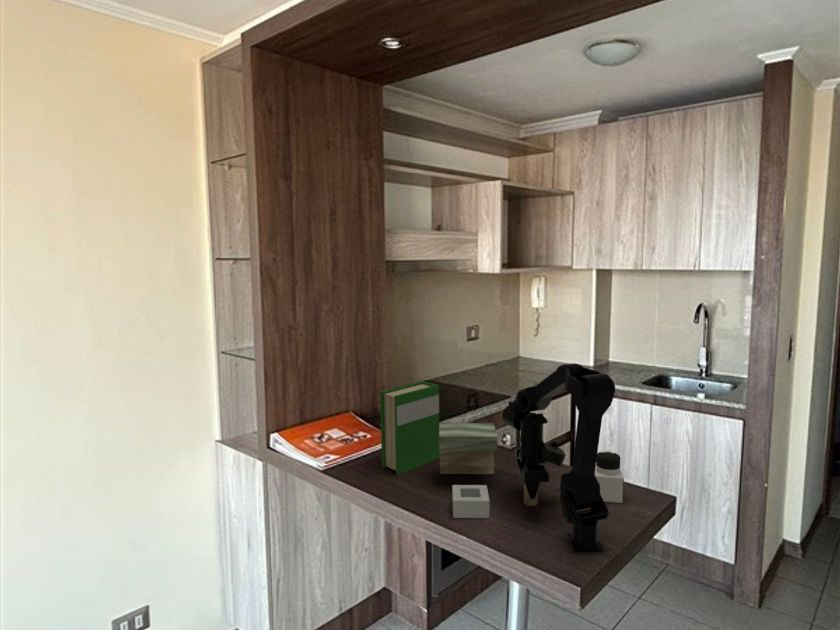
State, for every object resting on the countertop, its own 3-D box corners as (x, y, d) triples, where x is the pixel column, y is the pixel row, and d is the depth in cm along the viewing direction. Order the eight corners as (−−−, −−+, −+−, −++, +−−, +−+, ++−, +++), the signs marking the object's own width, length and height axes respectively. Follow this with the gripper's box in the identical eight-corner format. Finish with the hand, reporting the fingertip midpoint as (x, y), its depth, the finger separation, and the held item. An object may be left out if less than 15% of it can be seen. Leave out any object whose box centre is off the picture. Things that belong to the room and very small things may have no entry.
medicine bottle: (623, 503, 144) (624, 459, 142) (594, 501, 145) (595, 457, 144) (618, 491, 151) (620, 449, 149) (591, 489, 152) (593, 448, 151)
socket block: (489, 518, 137) (489, 501, 136) (453, 517, 137) (453, 500, 137) (486, 501, 146) (486, 485, 145) (452, 501, 146) (452, 484, 146)
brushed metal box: (497, 489, 153) (497, 437, 151) (439, 488, 154) (439, 436, 152) (493, 471, 165) (493, 423, 163) (439, 471, 166) (439, 422, 164)
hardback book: (398, 475, 163) (396, 396, 160) (381, 467, 169) (380, 391, 166) (439, 458, 176) (438, 385, 172) (423, 452, 181) (422, 381, 178)
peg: (538, 505, 143) (538, 472, 142) (524, 505, 143) (525, 472, 142) (536, 499, 147) (536, 467, 145) (522, 499, 147) (523, 467, 146)
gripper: (571, 449, 133) (569, 510, 135) (555, 424, 151) (554, 478, 153) (524, 449, 133) (524, 510, 135) (514, 424, 152) (514, 478, 154)
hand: (530, 493), depth 145 cm, fingers open, 6 cm apart
